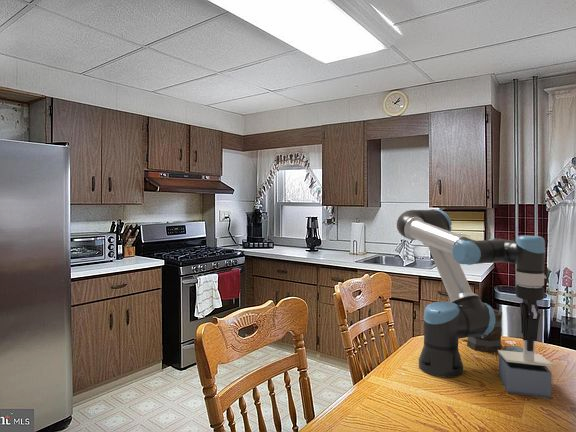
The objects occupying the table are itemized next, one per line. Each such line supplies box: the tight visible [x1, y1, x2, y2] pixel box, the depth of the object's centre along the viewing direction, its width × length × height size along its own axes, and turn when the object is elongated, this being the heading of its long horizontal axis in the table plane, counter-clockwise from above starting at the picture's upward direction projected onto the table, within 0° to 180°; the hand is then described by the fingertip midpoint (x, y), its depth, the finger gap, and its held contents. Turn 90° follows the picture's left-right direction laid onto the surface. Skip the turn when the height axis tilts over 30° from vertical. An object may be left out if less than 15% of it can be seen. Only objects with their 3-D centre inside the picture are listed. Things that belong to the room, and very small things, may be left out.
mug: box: [466, 308, 503, 354], centre depth 166 cm, size 20×14×15 cm
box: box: [497, 353, 553, 400], centre depth 129 cm, size 12×14×8 cm
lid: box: [497, 349, 555, 368], centre depth 129 cm, size 13×14×1 cm
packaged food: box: [501, 345, 523, 352], centre depth 149 cm, size 9×12×5 cm
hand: (528, 359), depth 124 cm, fingers closed
